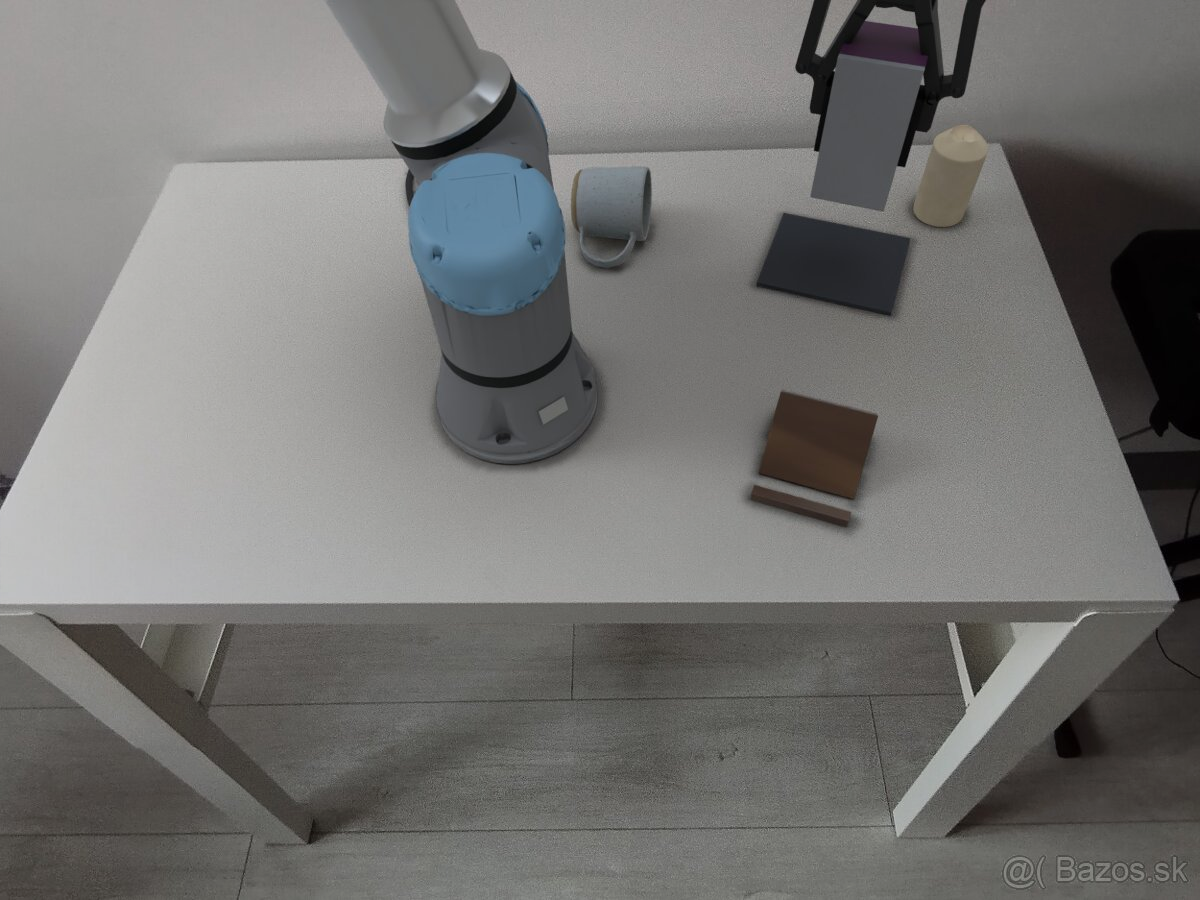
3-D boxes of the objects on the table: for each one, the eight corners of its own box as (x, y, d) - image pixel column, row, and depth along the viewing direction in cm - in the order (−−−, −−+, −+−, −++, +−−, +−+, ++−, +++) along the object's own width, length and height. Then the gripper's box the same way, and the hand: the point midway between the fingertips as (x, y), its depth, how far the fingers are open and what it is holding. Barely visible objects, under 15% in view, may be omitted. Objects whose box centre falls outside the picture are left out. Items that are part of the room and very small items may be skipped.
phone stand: (775, 424, 80) (784, 378, 74) (864, 448, 78) (881, 402, 72) (748, 506, 74) (757, 462, 69) (844, 533, 72) (860, 491, 67)
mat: (756, 285, 89) (756, 282, 89) (783, 216, 96) (783, 212, 95) (890, 315, 86) (891, 312, 85) (909, 241, 92) (910, 237, 92)
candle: (968, 227, 93) (999, 148, 85) (917, 228, 93) (943, 149, 85) (957, 196, 96) (986, 116, 88) (908, 196, 97) (932, 117, 89)
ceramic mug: (582, 205, 98) (578, 148, 92) (652, 210, 97) (653, 152, 91) (567, 269, 92) (561, 212, 86) (641, 274, 91) (641, 217, 85)
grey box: (851, 55, 83) (853, -2, 69) (924, 67, 81) (941, 10, 67) (811, 204, 86) (805, 177, 72) (881, 218, 84) (889, 193, 70)
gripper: (1078, -134, 61) (976, 147, 79) (802, -159, 65) (767, 111, 84) (1072, -90, 56) (966, 195, 75) (779, -121, 61) (747, 154, 80)
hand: (861, 150), depth 79 cm, fingers closed on grey box, 7 cm apart
